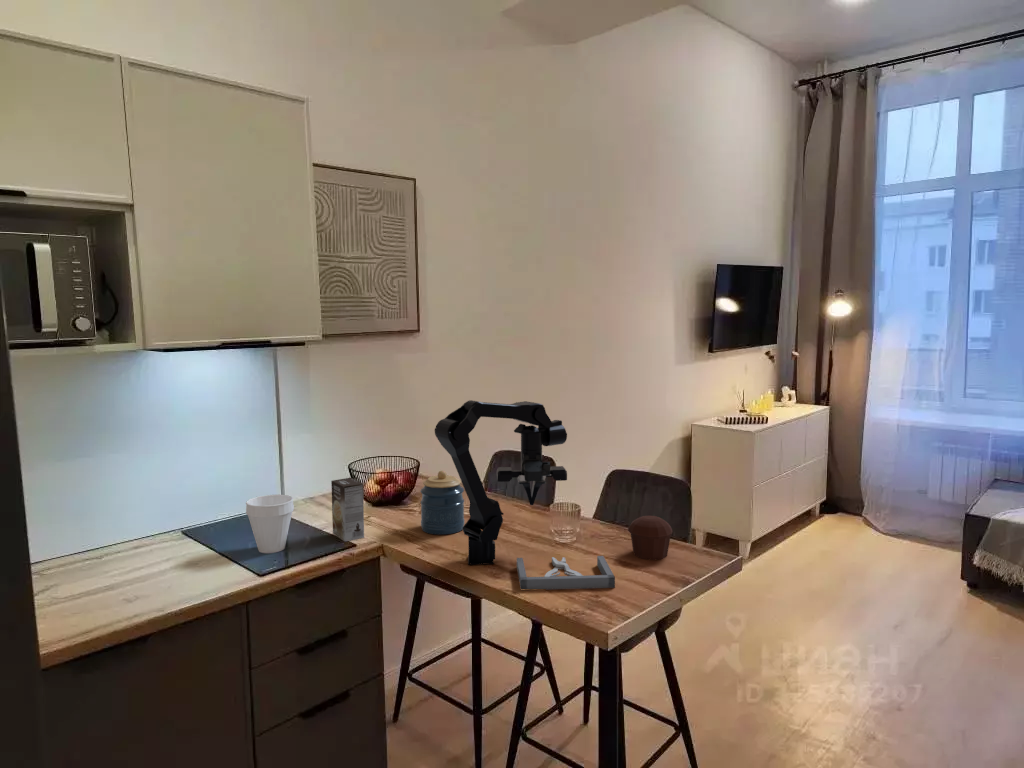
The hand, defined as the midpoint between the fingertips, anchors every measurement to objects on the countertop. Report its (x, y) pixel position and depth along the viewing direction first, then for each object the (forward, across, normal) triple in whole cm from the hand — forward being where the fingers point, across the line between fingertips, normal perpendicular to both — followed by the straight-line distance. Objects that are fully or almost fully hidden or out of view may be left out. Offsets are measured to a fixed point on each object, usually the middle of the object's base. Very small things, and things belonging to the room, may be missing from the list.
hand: (531, 504), depth 186 cm
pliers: (+13, +6, -19) cm, 23 cm away
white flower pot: (+12, -71, +4) cm, 72 cm away
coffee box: (+12, -52, +14) cm, 55 cm away
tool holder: (+12, +6, -21) cm, 25 cm away
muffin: (+12, +31, -7) cm, 34 cm away
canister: (+12, -25, +19) cm, 34 cm away
